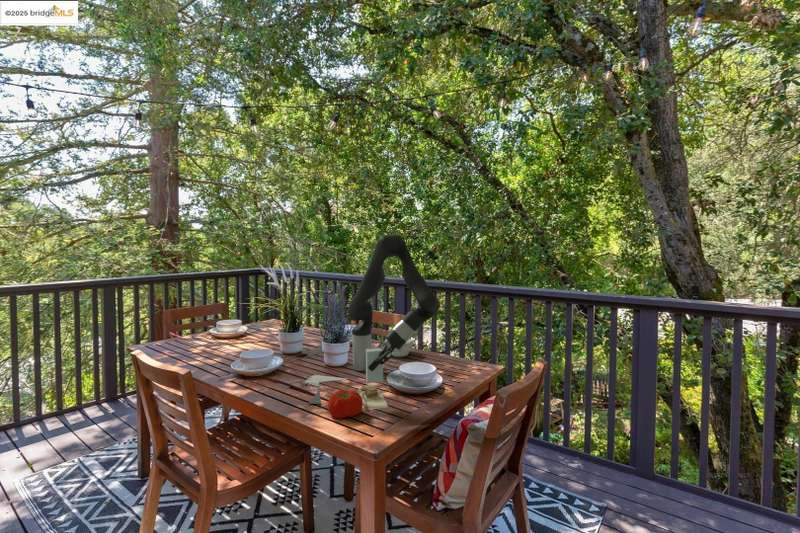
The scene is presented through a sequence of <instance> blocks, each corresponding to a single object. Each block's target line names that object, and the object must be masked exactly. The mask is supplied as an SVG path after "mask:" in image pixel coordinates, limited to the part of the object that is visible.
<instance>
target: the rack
mask: <svg viewBox="0 0 800 533" xmlns="http://www.w3.org/2000/svg"><path fill="white" fill-rule="evenodd" d="M357 393H358V394H359V395H360V396H361V398H362V402H363V404H362V408H363V409H364V411H371V410H379V409H389V408H390V407H389V405H388V403H387V401H386V400H385V398H384V396H383V393H382V392H381V389H377V397H371V398H366V395H365V393H364V390H363V391H362V389H361V388H360V387H359V388H358V391H357Z"/></svg>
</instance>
